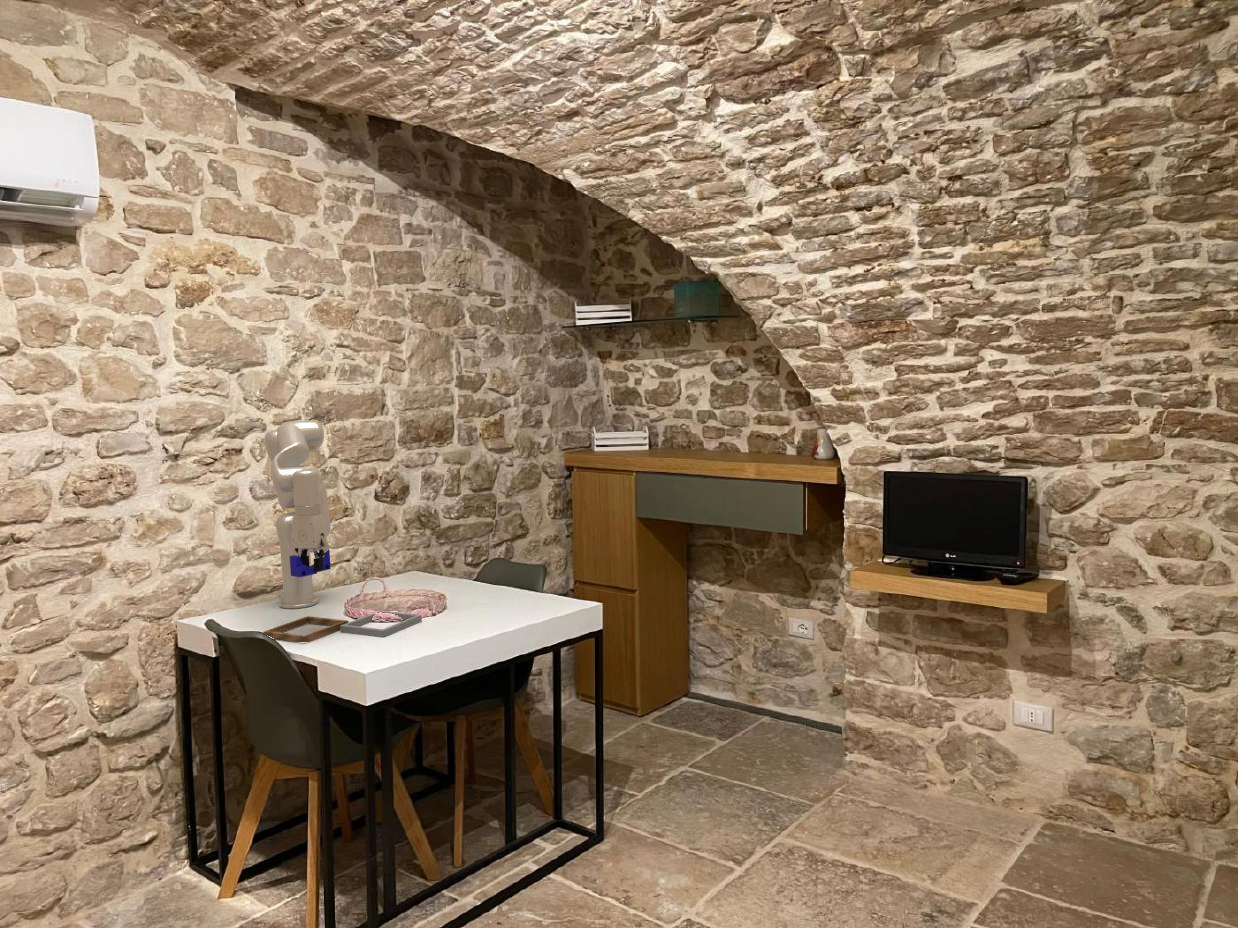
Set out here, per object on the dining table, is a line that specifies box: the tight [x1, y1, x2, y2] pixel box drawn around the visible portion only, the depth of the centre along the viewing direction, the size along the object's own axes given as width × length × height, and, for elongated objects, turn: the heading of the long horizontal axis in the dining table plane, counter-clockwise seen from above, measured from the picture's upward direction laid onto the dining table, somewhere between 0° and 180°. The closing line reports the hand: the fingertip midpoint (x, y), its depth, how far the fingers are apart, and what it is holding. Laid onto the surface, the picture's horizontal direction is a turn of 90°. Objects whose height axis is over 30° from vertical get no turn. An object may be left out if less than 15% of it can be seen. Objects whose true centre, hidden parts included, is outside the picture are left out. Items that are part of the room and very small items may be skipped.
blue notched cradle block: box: [290, 549, 332, 577], centre depth 288 cm, size 12×4×6 cm, turn 143°
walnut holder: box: [262, 615, 349, 643], centre depth 289 cm, size 16×18×2 cm
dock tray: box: [340, 610, 423, 638], centre depth 293 cm, size 16×18×2 cm
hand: (311, 569), depth 288 cm, fingers closed on blue notched cradle block, 4 cm apart
